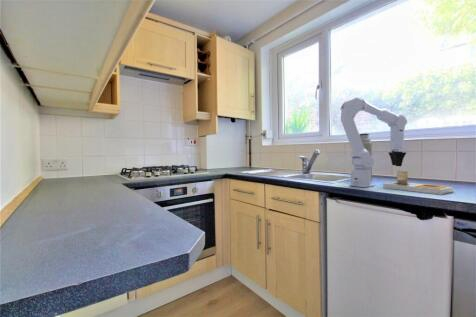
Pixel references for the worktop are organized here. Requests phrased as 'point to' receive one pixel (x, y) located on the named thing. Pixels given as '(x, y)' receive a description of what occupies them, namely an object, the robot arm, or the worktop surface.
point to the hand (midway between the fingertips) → (396, 165)
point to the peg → (402, 177)
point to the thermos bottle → (367, 145)
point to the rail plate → (420, 188)
